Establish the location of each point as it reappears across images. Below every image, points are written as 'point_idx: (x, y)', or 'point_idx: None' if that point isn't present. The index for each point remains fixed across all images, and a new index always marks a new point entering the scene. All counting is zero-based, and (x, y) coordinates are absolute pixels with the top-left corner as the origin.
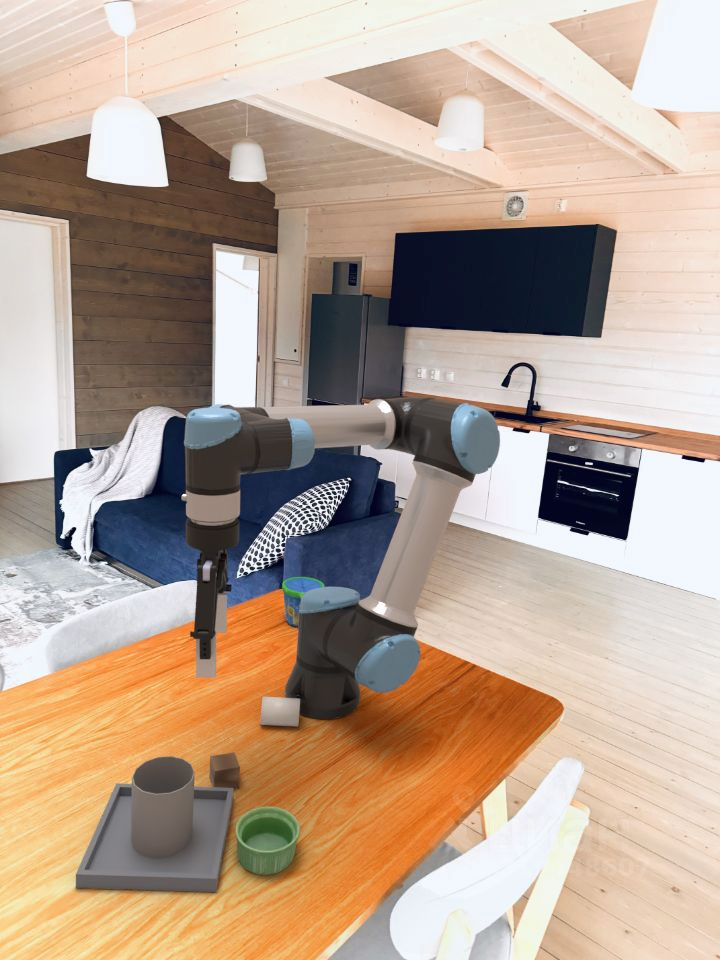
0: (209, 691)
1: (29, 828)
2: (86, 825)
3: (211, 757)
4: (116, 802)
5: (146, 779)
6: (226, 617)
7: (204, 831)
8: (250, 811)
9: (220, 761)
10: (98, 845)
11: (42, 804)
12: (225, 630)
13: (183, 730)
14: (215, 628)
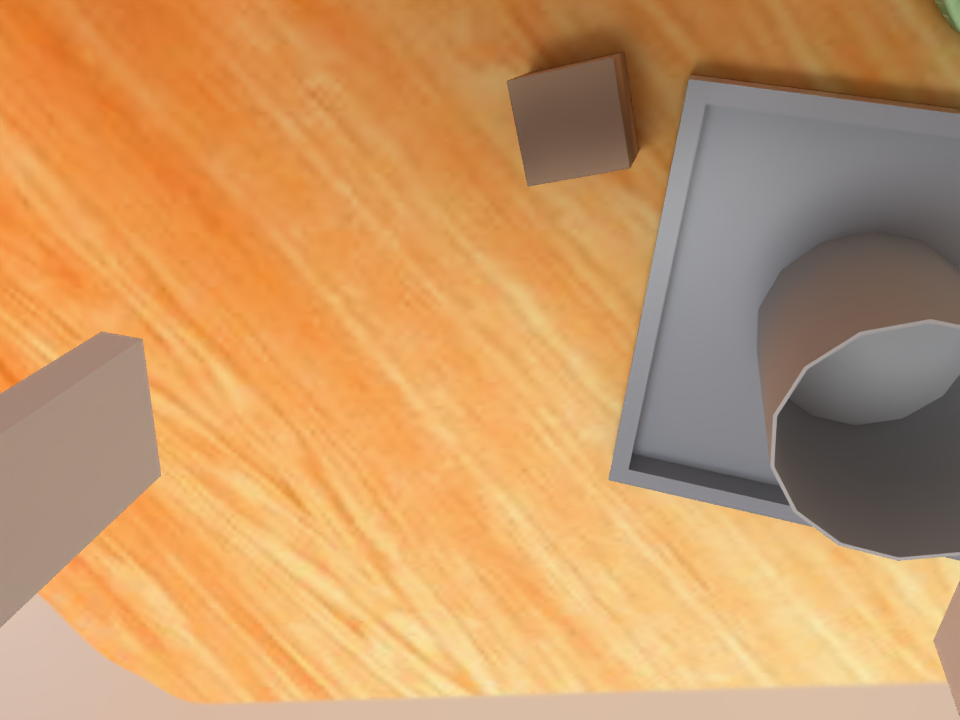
0: (37, 169)
1: (725, 649)
2: (740, 527)
3: (537, 181)
4: (670, 464)
5: (788, 461)
6: (14, 412)
7: (874, 187)
8: (956, 8)
9: (567, 143)
10: None
11: (630, 625)
12: (127, 356)
13: (279, 261)
14: (127, 449)
